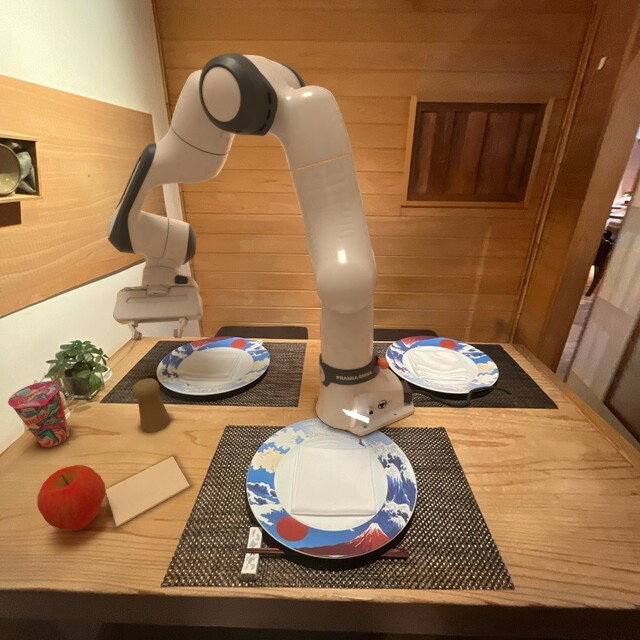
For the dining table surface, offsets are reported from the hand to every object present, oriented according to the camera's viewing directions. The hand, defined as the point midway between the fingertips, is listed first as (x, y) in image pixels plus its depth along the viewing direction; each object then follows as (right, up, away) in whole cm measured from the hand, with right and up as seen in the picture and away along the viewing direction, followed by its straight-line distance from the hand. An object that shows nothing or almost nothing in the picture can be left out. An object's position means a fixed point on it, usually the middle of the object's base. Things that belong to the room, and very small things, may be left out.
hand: (157, 338), depth 84 cm
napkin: (+7, -26, -19) cm, 33 cm away
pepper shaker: (+1, -19, -3) cm, 19 cm away
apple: (0, -29, -25) cm, 38 cm away
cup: (-18, -21, -7) cm, 29 cm away
